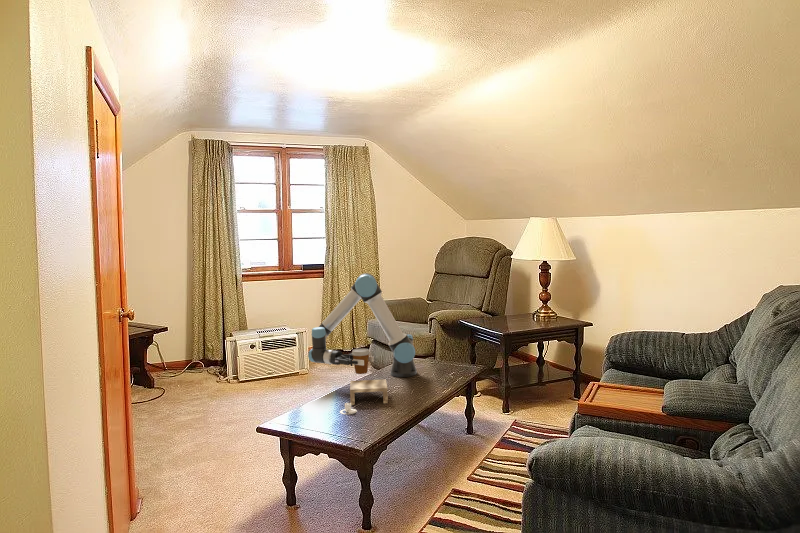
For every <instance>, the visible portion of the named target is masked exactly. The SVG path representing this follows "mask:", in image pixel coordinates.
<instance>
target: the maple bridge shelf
mask: <svg viewBox="0 0 800 533" xmlns="http://www.w3.org/2000/svg"><path fill="white" fill-rule="evenodd" d="M349 382H350V383H349V386H350V387H349V395H350V396H349V397H350V398H349V399H350V400H349V401H350V402H349V403H351V406H355V403H356V393H375V392H382V394H381V395H382V402H383V404H388V403H389V399H388V398H389V396H388V385H387V384H388V383H387V379H386V378H383V379H365V380H364V379H363V380H350V381H349Z"/></svg>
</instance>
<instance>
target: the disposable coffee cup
mask: <svg viewBox="0 0 800 533" xmlns="http://www.w3.org/2000/svg"><path fill="white" fill-rule="evenodd" d="M370 352H371V351H370V349H369V348H365V347H364V348H354V349H352V352H351V354H352V355H353V359H358V360H364V366H362V365H353V366H354V371H355V374H356V375H357V374H358V375H365V374H367V373H368V368H369V361H368V359H369V356H370Z"/></svg>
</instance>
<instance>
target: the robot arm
mask: <svg viewBox="0 0 800 533" xmlns="http://www.w3.org/2000/svg"><path fill="white" fill-rule="evenodd" d="M382 294H383V291H382V289H381V287H380V285H379V283H378V282H377V279H376V277H375V276H374V275H373V274H371V273H369V272H364V273H361V274H360V275H359V276H358V277H357V278H356V280H355V281H354V283H353V284H352V285H351V286H350V291H349V292H348V293H347V294H346V295H345V296H344V297H343V299H342V300H340V302H339V303H338V304H337V305H336V306H335V307H334V309H333V310H331V312H330V313H329V314H328V315H327V316H326V318H325V319H324V320H323V321H322V322H321V323H320V325H319V326H316V327H312V329H311V342H312V343H311V344H312V348H311V349H310V350H309V351H308V354H307V357H308V360H309V361H310V362H312V363H315V364H327V365H328V366H331V365H335V366H339V365H344V366H350V367H353V366H354V365H362V366H364V360H358V359H353V355H352V353H348V354H346V353H343V352H342V351H341V350H335V349H334V350H333V349H327V338H328V337H329V335H331V334H332V332H333V331H334V330H335V329H336V327H338V325H339V324H340V323H341V322H342V321H343V320H344V319H345V317H346V316H348V314H349V313H350V312H351V311H352V310H353V308H354V307H355V306H356V305H357V304H358V303H359V301H360V300H362V301H363V303H366V304H367V305H368V307H369V308H370V310H371V312H372V313H373V315H374V317H375V319H376V320H377V322H378V323H379V325H380V327H381V329H382V330H383V332H384V334H385V336H386V338H387V339H388V346H389V349H390V350H391V352H392V357H393V358H392V360H393V361H392V364H391V368H390V376H393V377H395V378H396V377H397V378H409V377H414V376H416V375H417V374H418V373H417V368H416V364H415V362H414V358H415V356H416V348H415V345H414V338H413V334H407V333H406V332H405V333H404V332H403V331H402V329H401V328H400V325H399V324H398V322H397V321H396V318H394V316H393V314H392V311H391V310H390V308H389V306H388V305H387V303H386V302H385V300H384V298H383V295H382ZM368 362H371V363H373V362H375V361H374V355H373V356H372V355H369V359H368Z"/></svg>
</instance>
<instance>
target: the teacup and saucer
mask: <svg viewBox="0 0 800 533" xmlns="http://www.w3.org/2000/svg"><path fill="white" fill-rule="evenodd" d="M344 411H345V412H344ZM357 412H358V410H357V409H356V408H352V405H351V403H350V402H345V403H344V409H341V410H339V413H340V414H342V415H347V413H348V415H353V414H356V413H357Z"/></svg>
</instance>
